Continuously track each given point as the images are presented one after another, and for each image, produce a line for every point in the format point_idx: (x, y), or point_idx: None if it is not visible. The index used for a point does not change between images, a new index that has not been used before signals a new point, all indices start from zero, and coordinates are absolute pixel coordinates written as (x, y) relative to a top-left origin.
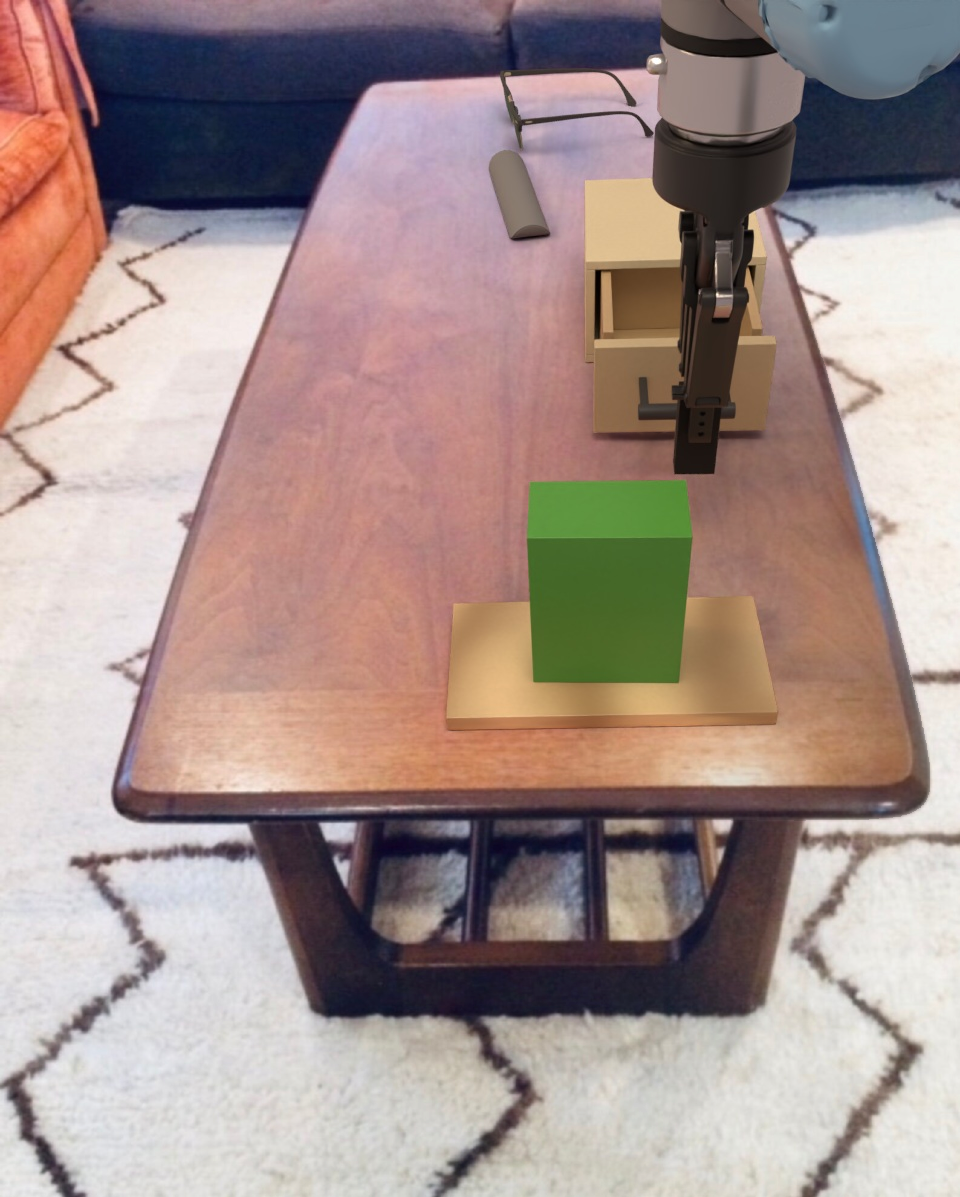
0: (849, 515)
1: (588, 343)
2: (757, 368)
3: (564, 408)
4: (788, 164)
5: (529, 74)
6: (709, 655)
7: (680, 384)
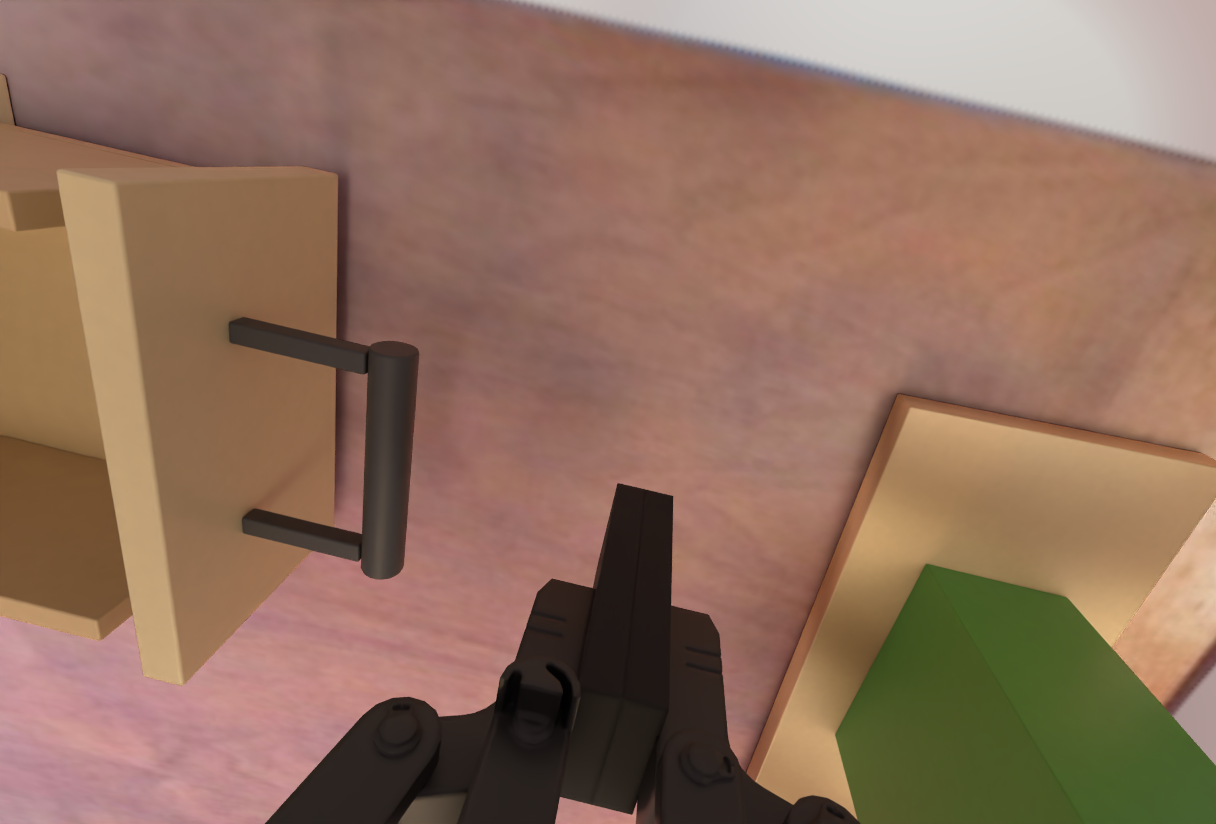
0: (675, 55)
1: None
2: (203, 233)
3: None
4: None
5: None
6: (1029, 532)
7: (570, 796)
